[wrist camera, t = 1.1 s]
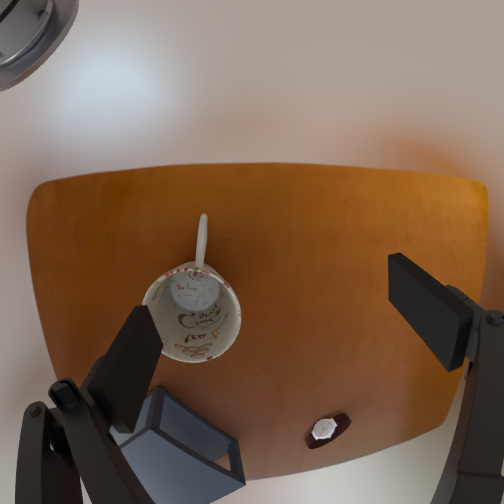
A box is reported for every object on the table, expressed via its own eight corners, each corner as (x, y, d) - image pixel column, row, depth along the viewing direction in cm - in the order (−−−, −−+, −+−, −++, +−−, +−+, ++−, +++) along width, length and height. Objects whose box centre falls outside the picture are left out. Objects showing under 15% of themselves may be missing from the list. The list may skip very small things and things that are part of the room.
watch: (338, 404, 39) (348, 418, 35) (351, 418, 40) (360, 431, 36) (297, 433, 39) (303, 448, 35) (312, 445, 40) (319, 460, 36)
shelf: (99, 432, 34) (85, 471, 25) (159, 384, 34) (149, 429, 26) (173, 479, 37) (172, 519, 28) (238, 441, 37) (246, 485, 29)
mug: (157, 318, 33) (141, 358, 23) (163, 209, 31) (145, 209, 22) (228, 323, 34) (236, 365, 25) (238, 216, 33) (252, 219, 23)
